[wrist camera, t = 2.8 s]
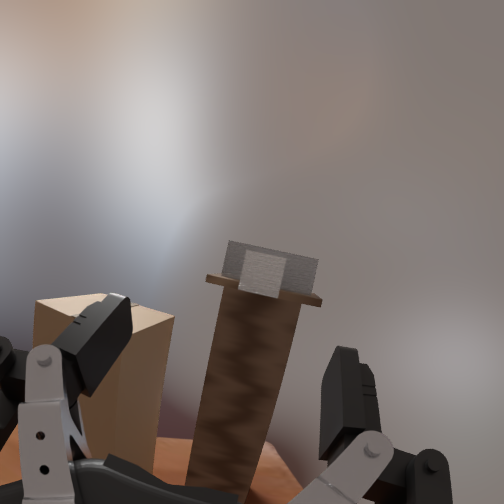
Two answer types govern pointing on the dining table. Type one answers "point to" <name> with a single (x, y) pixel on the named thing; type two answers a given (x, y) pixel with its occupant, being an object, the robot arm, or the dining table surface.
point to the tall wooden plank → (242, 384)
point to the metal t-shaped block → (268, 270)
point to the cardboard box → (118, 380)
